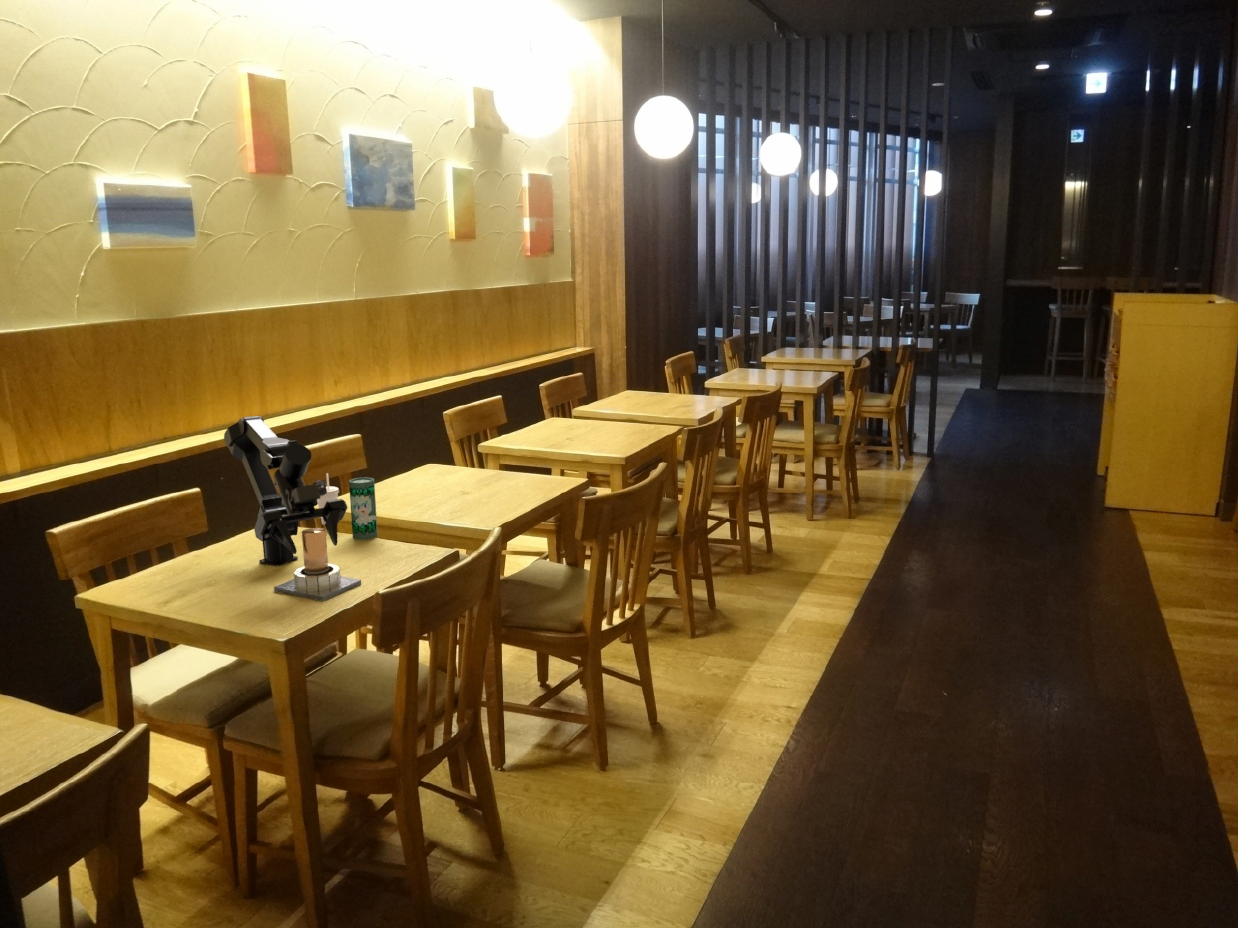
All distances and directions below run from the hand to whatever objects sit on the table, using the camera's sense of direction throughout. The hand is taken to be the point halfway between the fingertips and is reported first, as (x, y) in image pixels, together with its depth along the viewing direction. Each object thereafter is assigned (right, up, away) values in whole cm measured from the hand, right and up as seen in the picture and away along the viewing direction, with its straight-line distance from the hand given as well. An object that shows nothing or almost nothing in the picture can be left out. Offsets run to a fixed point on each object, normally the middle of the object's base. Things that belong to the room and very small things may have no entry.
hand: (316, 548), depth 214 cm
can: (0, 0, +40) cm, 40 cm away
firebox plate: (0, -9, +2) cm, 9 cm away
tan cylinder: (0, -8, +2) cm, 8 cm away
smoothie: (-13, +2, +52) cm, 54 cm away
